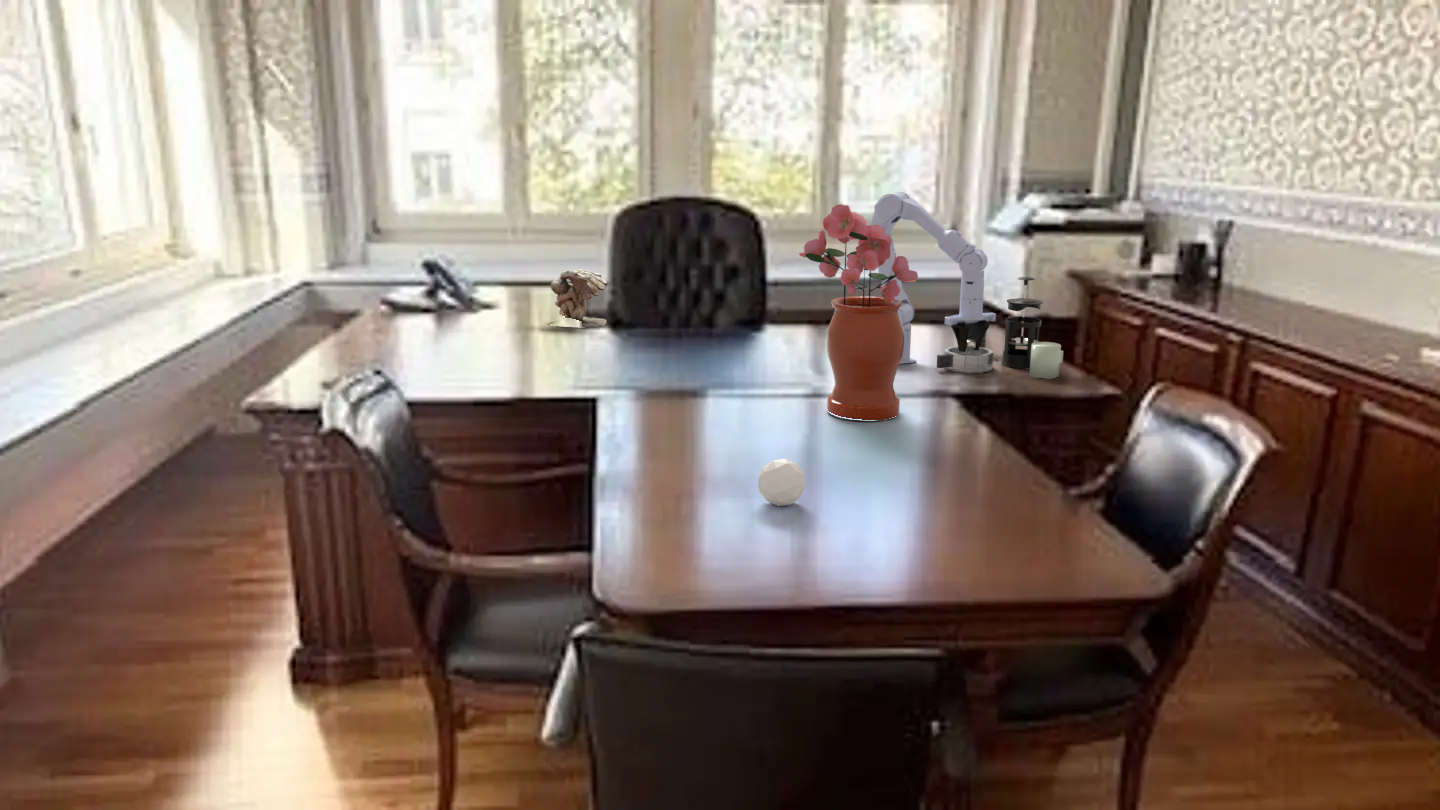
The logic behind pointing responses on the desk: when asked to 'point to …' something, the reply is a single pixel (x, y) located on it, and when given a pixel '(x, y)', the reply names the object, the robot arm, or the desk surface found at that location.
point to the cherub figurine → (578, 294)
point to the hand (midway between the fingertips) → (968, 350)
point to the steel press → (966, 360)
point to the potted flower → (862, 318)
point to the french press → (1022, 356)
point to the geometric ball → (781, 482)
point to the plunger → (970, 346)
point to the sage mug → (1045, 359)
